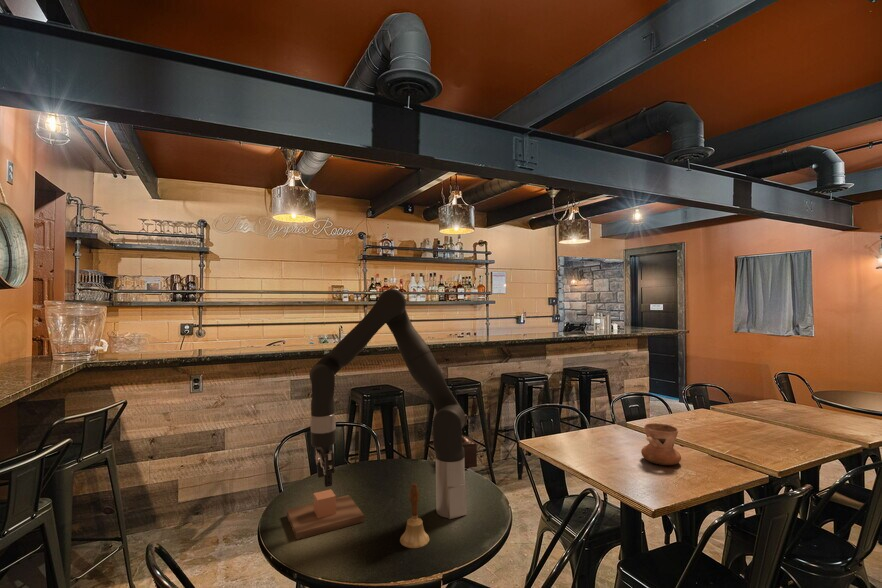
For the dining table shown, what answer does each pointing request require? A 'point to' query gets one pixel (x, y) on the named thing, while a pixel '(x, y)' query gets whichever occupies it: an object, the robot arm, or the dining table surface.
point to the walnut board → (323, 518)
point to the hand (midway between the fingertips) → (324, 481)
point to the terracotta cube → (324, 503)
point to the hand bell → (414, 524)
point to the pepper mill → (469, 450)
